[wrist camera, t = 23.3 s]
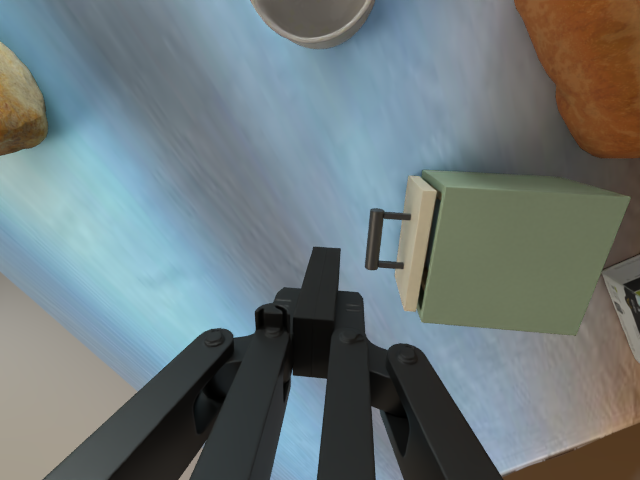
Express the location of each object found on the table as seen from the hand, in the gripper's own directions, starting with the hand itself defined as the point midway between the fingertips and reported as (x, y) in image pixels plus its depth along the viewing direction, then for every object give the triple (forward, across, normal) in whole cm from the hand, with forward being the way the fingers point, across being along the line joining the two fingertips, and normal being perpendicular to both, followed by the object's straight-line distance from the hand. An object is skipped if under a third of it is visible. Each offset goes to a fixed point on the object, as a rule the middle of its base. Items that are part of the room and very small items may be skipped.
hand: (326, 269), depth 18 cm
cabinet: (+21, +16, -4) cm, 27 cm away
